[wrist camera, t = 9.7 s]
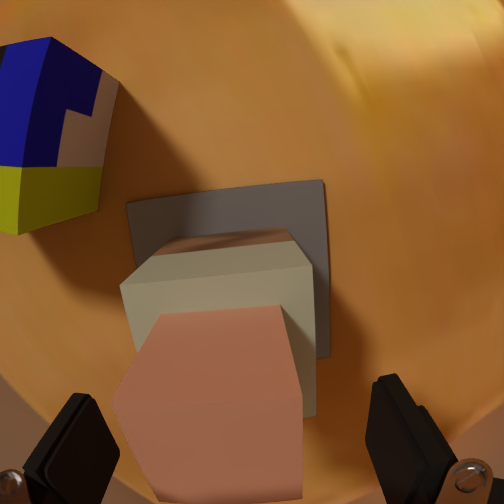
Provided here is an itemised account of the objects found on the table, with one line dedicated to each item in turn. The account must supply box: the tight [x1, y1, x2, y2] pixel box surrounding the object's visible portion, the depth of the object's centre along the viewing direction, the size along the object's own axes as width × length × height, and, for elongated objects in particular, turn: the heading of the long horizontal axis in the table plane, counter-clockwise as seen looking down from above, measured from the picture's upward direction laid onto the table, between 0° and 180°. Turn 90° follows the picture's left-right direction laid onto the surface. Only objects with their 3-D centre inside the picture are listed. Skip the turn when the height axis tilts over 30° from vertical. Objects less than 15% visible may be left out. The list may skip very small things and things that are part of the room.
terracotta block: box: [110, 304, 303, 504], centre depth 11 cm, size 5×5×6 cm
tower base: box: [152, 226, 294, 256], centre depth 21 cm, size 8×8×5 cm
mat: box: [126, 180, 330, 359], centre depth 24 cm, size 14×14×1 cm
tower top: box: [119, 241, 316, 418], centre depth 16 cm, size 8×8×5 cm
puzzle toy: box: [0, 37, 120, 235], centre depth 16 cm, size 10×10×10 cm
